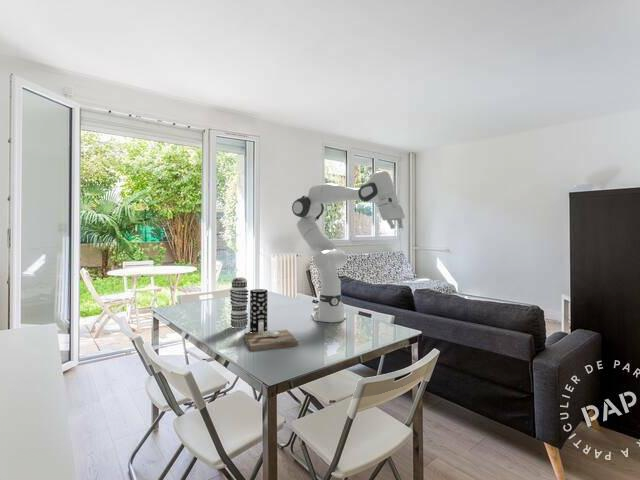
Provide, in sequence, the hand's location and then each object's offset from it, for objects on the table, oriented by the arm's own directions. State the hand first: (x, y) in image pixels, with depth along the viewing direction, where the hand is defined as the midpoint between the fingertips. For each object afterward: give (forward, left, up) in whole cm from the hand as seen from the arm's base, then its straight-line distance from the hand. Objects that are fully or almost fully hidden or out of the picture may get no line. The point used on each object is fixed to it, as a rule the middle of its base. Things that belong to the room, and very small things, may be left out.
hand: (397, 228), depth 172 cm
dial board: (-3, -62, -51) cm, 80 cm away
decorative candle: (-32, -72, -51) cm, 94 cm away
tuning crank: (-4, -63, -49) cm, 80 cm away
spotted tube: (-21, -64, -51) cm, 85 cm away
